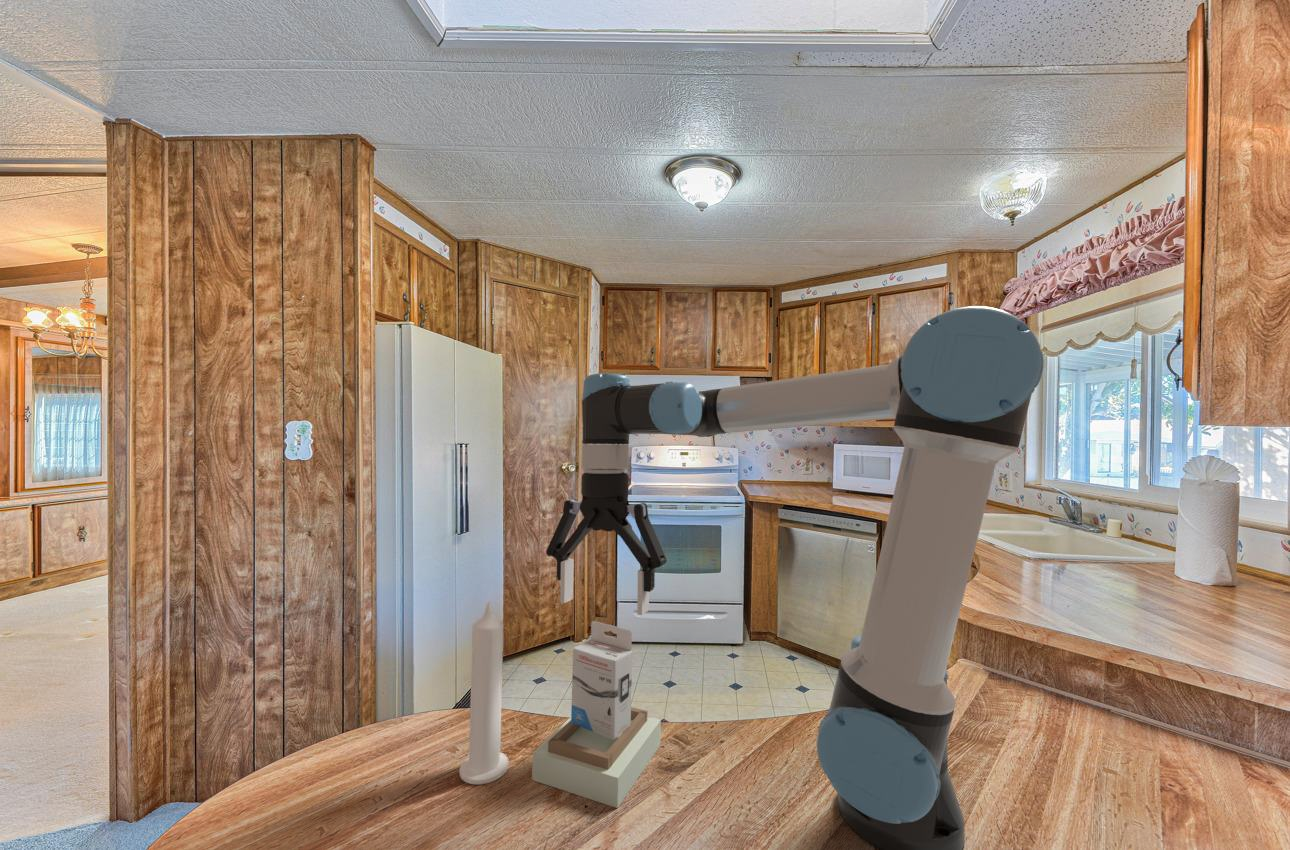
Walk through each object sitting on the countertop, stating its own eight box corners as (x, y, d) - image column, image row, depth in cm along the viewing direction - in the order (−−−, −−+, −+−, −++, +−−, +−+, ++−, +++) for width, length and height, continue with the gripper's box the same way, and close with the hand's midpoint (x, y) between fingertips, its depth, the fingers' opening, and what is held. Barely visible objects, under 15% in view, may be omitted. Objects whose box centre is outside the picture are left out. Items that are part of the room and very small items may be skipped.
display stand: (660, 744, 83) (660, 710, 83) (617, 808, 68) (618, 766, 69) (586, 725, 89) (587, 693, 89) (532, 779, 74) (532, 741, 74)
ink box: (569, 723, 79) (571, 628, 80) (589, 710, 83) (590, 619, 84) (613, 741, 74) (615, 640, 75) (632, 726, 79) (633, 630, 79)
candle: (494, 788, 72) (498, 611, 73) (449, 781, 73) (454, 607, 74) (516, 758, 79) (520, 597, 80) (475, 752, 80) (479, 593, 81)
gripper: (686, 472, 79) (686, 609, 78) (552, 468, 89) (550, 590, 88) (670, 474, 72) (669, 625, 71) (526, 470, 82) (523, 602, 81)
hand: (603, 606), depth 79 cm, fingers open, 13 cm apart
